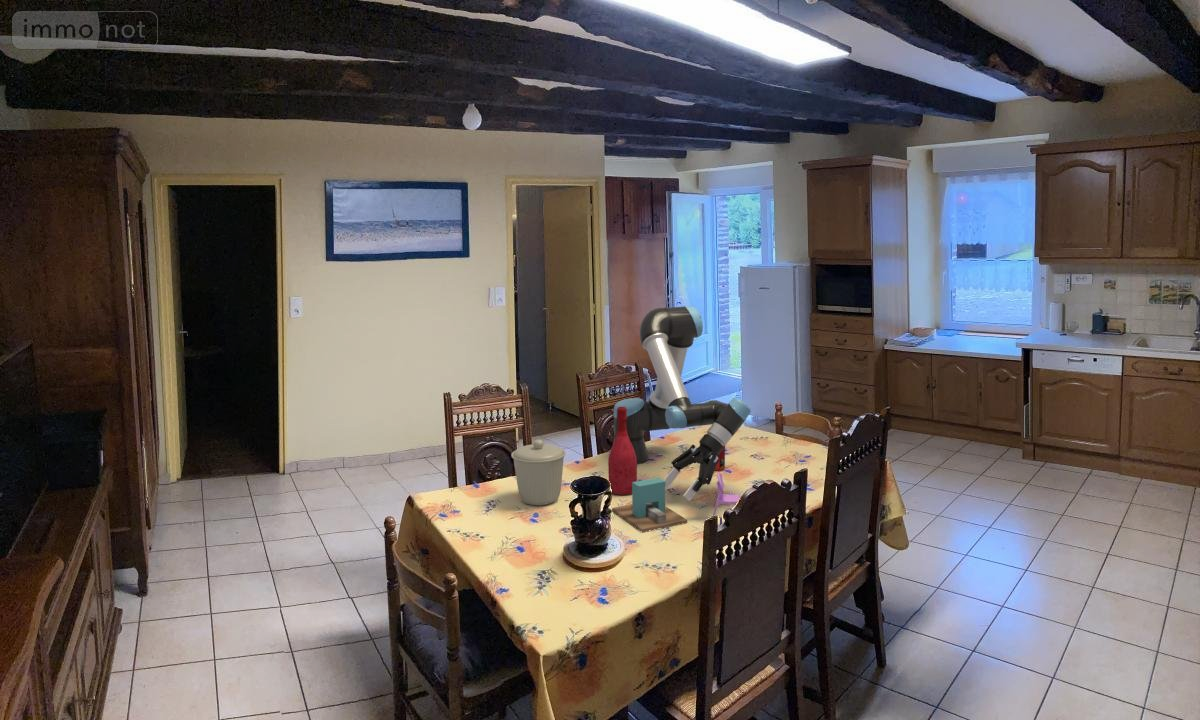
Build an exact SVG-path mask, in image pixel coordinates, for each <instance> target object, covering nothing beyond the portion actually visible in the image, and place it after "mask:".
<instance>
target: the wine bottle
mask: <svg viewBox="0 0 1200 720" xmlns="http://www.w3.org/2000/svg"><path fill="white" fill-rule="evenodd" d="M617 420H618V431H617V436H616V439H615V441H614V440H613V442H614V443H612V446H611V448H610V452H609V454H608V455H609V456H608V462H607V463H608V464H607V466H608V467H607V469H608V470H607V471H608V472H607V473H608V482H609V481H610V483H611V489H612V492H611V493H612V494H613V495H618V496H624V495H625V496H626V495H632V482H637V481H638V474H637V473H638V464H637V459H636V454H635V451H634V448H633V446H632V444H631V442H630V439H629V437H628V433H627V429H626V420H627V408H626V407H618V409H617Z"/></svg>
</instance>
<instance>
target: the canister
mask: <svg viewBox="0 0 1200 720" xmlns="http://www.w3.org/2000/svg"><path fill="white" fill-rule="evenodd" d="M566 453H567V451H566V450H564V449H563V448H561V447H560V446H558V445H554V444H551V443H544V441H543V440H542V439H535V440H534V441H533V442H532V444H527V445H523V446H520V447H519V448H517V449H515V450H514V451H513V452H512V453H510V454H511V458H512V459H513V465H514V471H515V477H516V478H515V479H516V485H517V490H518V491H517V492H518V495H519V498H520V500H521V502H523V503H525V504H526V505H530V506H545V505H549V504H553V503H555V502H556V501H557V500H558V499H559V498H560V495H561V491H562V482H563V481H562V480H563V471H564V468H563V467H564V457H565V456H566Z"/></svg>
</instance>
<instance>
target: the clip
mask: <svg viewBox="0 0 1200 720" xmlns="http://www.w3.org/2000/svg"><path fill="white" fill-rule="evenodd" d="M663 480H664V479H662V478H660V477H654V478H650V479H649V478H647V479H643V480H639V481H638V480H637V482H632V494H631V495H632V498H631V500H632V501H631V502H632V503H631V504H632V514H633V515H635V516H636V517H638V518H639V519H640V518H645V517H646V503H651V502H652V506H654V507H655V508H657V509H659V510H660V511H662V512H663V513H665V506H666V486H665V481H663Z"/></svg>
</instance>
